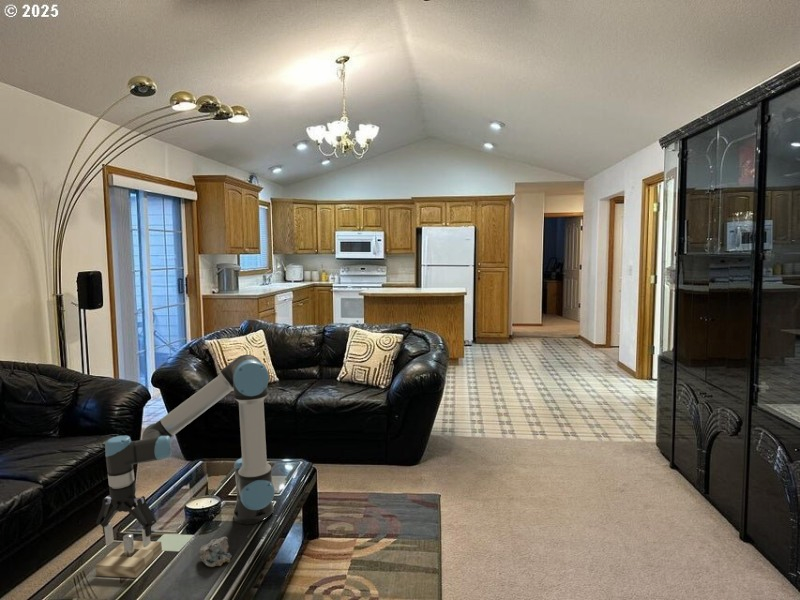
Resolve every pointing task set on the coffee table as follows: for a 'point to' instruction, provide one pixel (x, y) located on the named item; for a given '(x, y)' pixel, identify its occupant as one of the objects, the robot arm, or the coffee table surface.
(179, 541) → the mat
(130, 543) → the pin
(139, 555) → the hole block
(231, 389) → the robot arm
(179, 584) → the coffee table surface
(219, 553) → the mineral specimen
